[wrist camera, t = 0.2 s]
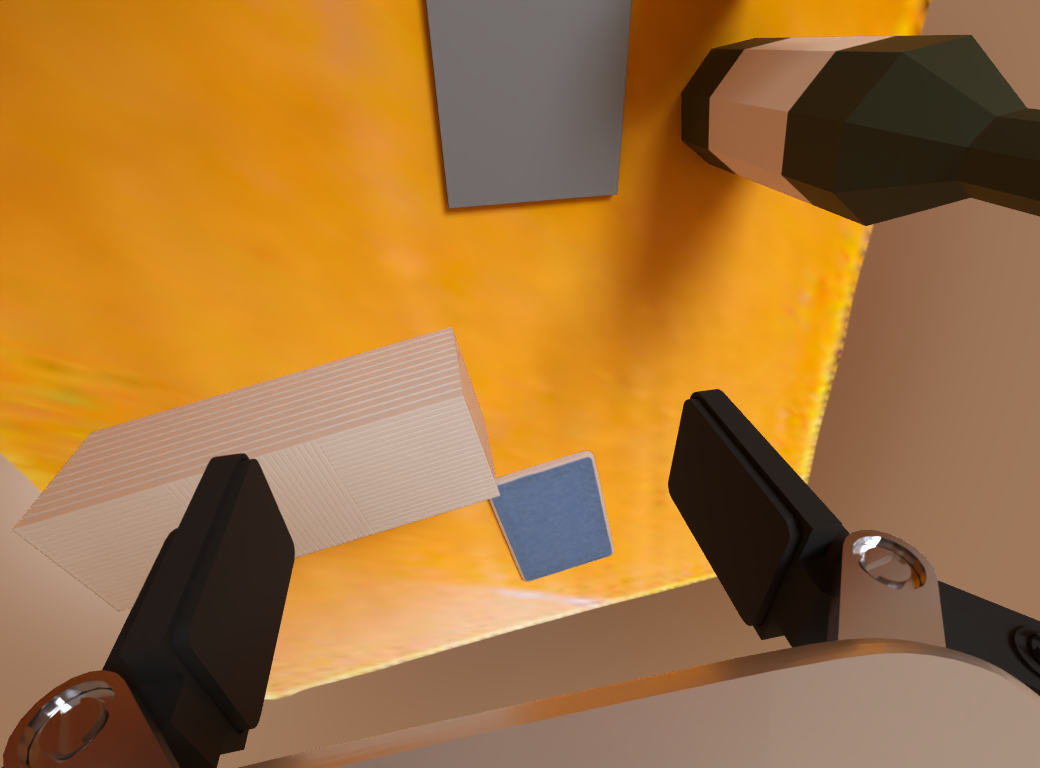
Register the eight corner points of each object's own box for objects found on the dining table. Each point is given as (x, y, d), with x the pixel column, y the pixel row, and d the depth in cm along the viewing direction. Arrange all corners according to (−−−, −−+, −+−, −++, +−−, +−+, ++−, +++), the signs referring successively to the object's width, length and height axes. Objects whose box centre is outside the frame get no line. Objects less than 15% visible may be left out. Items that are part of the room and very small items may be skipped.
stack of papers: (169, 510, 49) (118, 611, 40) (92, 431, 43) (11, 530, 34) (483, 416, 50) (500, 496, 41) (451, 325, 44) (463, 395, 35)
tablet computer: (613, 548, 66) (616, 556, 65) (522, 577, 66) (524, 586, 65) (590, 444, 55) (594, 452, 54) (481, 479, 55) (482, 487, 54)
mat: (424, -15, 30) (424, -16, 30) (628, -20, 32) (633, -21, 32) (448, 205, 38) (449, 208, 37) (613, 191, 40) (617, 194, 39)
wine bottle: (765, 8, 34) (1637, -78, 10) (795, 119, 39) (1443, 247, 15) (660, 87, 36) (1194, 180, 12) (700, 186, 41) (1144, 401, 16)
